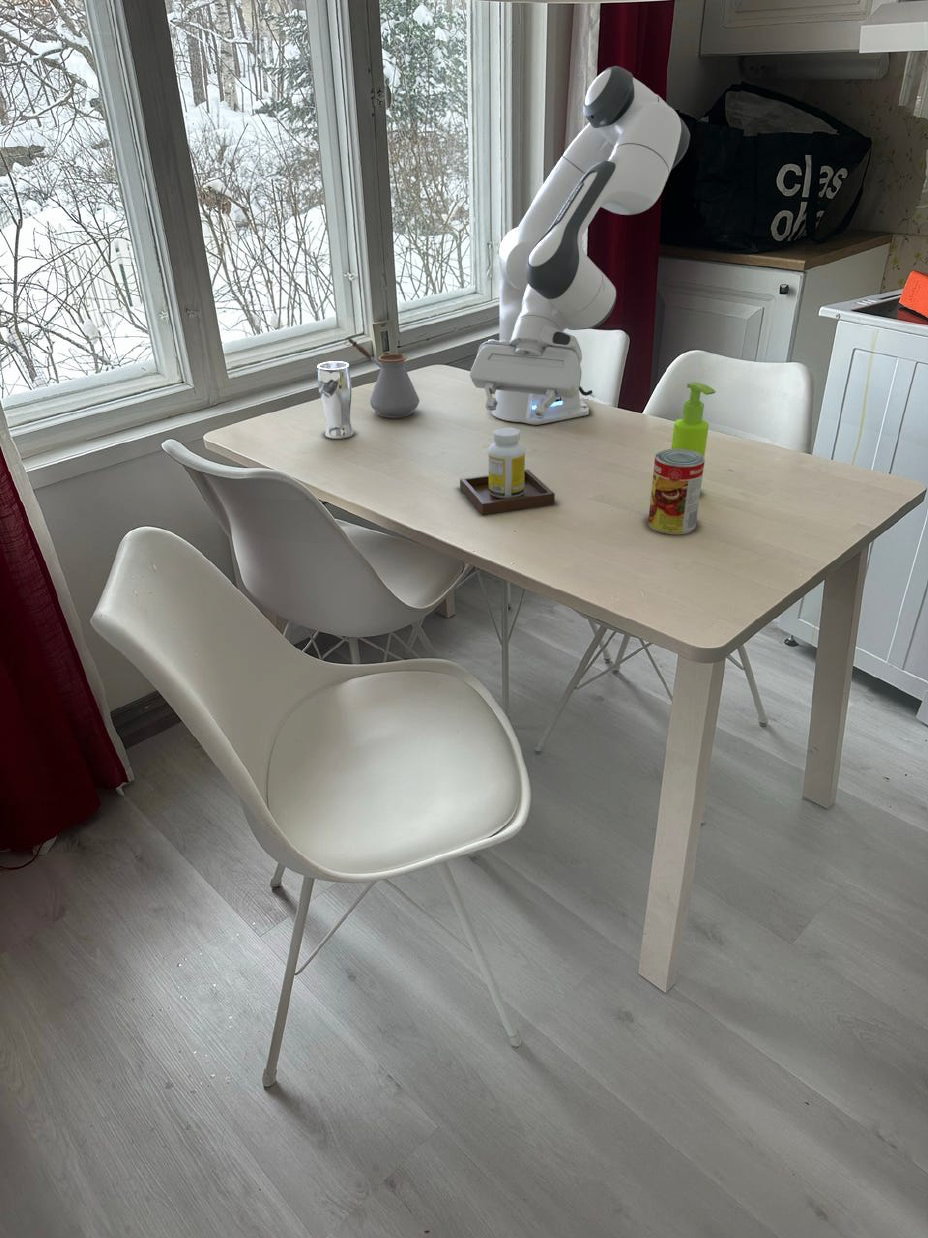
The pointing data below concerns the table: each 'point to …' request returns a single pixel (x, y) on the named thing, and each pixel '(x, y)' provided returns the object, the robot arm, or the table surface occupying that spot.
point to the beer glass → (336, 398)
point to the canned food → (675, 491)
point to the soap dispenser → (692, 422)
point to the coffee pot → (391, 386)
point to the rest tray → (488, 504)
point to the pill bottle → (506, 464)
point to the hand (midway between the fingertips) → (514, 411)
